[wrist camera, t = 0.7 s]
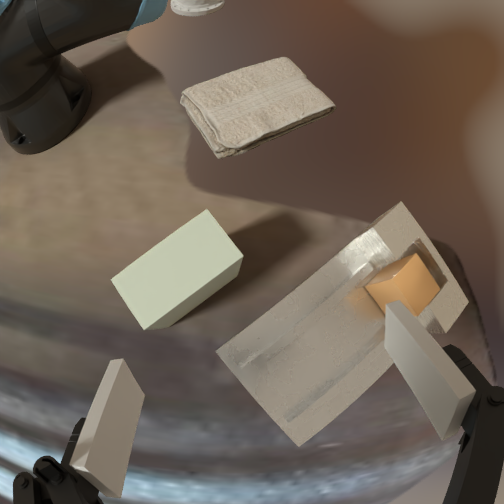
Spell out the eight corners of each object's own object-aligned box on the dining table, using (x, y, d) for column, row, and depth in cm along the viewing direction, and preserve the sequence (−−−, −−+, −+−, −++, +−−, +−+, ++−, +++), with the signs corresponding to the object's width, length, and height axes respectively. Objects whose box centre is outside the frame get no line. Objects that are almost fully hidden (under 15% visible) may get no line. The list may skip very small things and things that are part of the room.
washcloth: (175, 104, 37) (173, 89, 34) (284, 62, 40) (288, 48, 37) (220, 168, 35) (219, 155, 32) (334, 115, 39) (341, 101, 36)
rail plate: (215, 350, 30) (213, 357, 25) (377, 218, 35) (401, 201, 30) (297, 444, 29) (310, 465, 23) (439, 306, 33) (468, 302, 28)
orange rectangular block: (364, 286, 32) (392, 278, 26) (387, 264, 33) (416, 253, 27) (387, 318, 31) (418, 316, 26) (409, 295, 32) (440, 289, 26)
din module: (143, 292, 31) (110, 279, 21) (211, 242, 33) (206, 209, 23) (168, 327, 30) (144, 330, 21) (237, 275, 32) (243, 256, 22)
